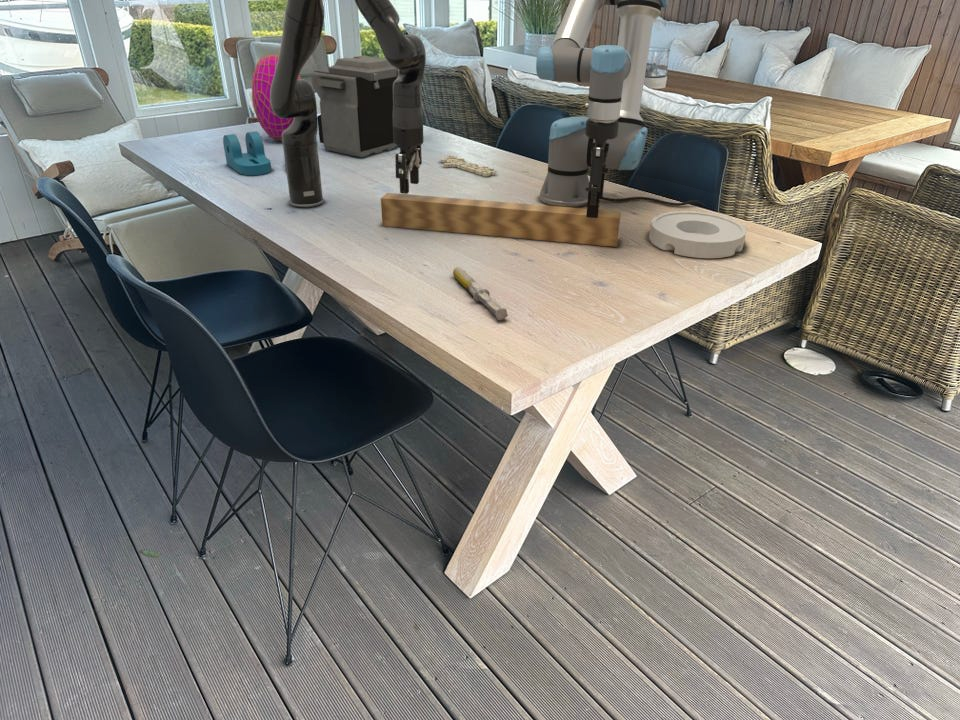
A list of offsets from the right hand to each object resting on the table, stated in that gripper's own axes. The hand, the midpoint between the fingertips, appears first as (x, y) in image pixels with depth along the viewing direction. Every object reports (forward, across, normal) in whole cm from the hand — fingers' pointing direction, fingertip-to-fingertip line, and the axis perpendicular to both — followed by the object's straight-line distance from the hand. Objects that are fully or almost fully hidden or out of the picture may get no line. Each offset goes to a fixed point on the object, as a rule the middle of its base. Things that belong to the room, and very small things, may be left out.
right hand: (594, 207), depth 170 cm
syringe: (+7, +40, -20) cm, 45 cm away
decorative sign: (+10, -58, -48) cm, 76 cm away
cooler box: (+11, -79, -90) cm, 120 cm away
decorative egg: (+11, -79, -125) cm, 148 cm away
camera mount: (+9, -38, -117) cm, 123 cm away
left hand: (-1, 0, -48) cm, 48 cm away
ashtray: (+9, -6, +26) cm, 28 cm away
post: (+8, +1, -24) cm, 26 cm away
